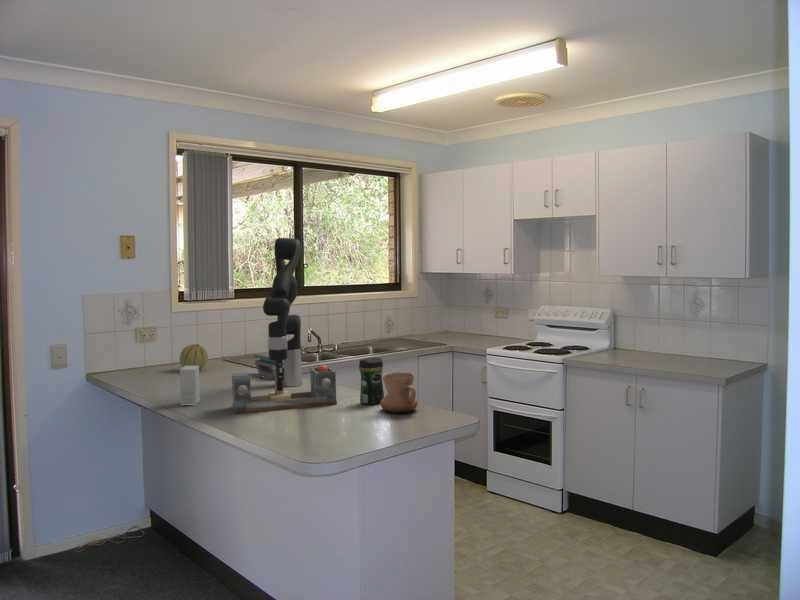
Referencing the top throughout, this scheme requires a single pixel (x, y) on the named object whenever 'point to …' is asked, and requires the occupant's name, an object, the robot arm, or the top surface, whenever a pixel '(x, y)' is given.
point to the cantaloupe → (193, 356)
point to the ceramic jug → (399, 392)
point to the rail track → (318, 396)
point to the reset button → (322, 368)
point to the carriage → (278, 394)
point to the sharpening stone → (265, 365)
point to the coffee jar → (371, 380)
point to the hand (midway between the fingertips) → (279, 389)
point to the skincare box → (189, 385)
